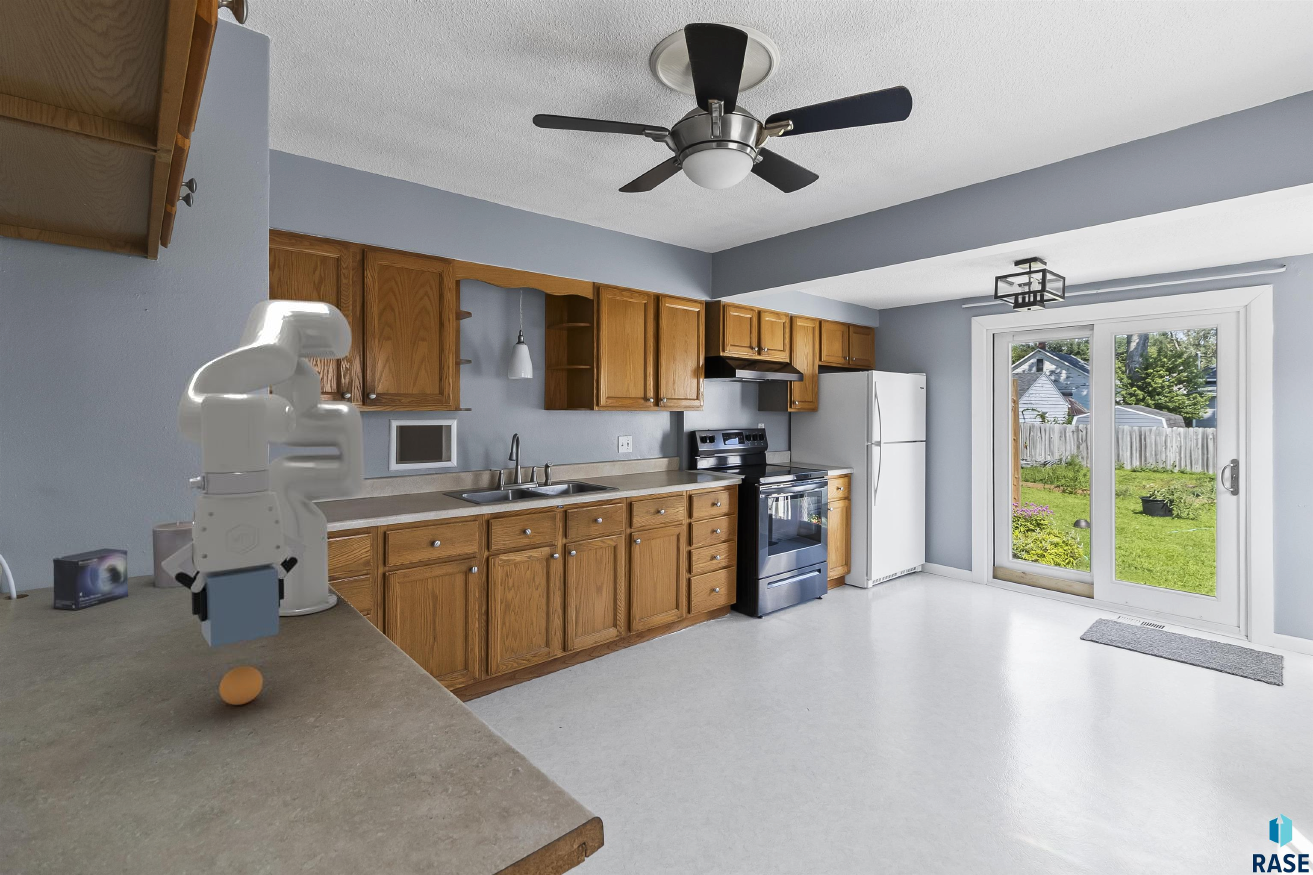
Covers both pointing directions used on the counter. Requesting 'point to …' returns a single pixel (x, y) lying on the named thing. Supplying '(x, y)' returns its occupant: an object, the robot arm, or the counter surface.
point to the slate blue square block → (241, 605)
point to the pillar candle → (171, 551)
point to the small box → (90, 578)
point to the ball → (241, 685)
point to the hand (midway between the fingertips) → (239, 611)
